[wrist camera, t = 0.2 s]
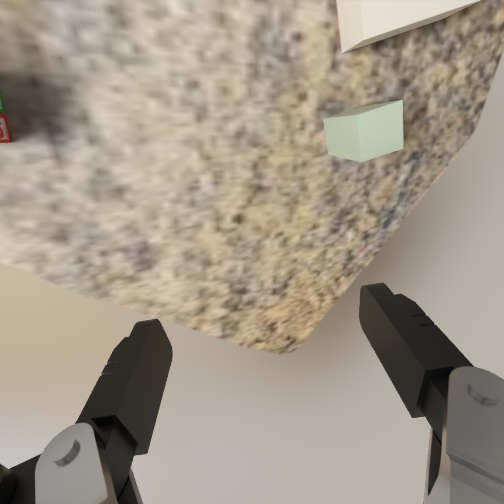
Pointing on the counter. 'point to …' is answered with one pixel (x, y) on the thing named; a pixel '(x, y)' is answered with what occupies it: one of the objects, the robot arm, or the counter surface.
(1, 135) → the printed cardboard box
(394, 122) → the sage brick
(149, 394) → the robot arm
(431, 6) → the base brick
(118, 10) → the counter surface
